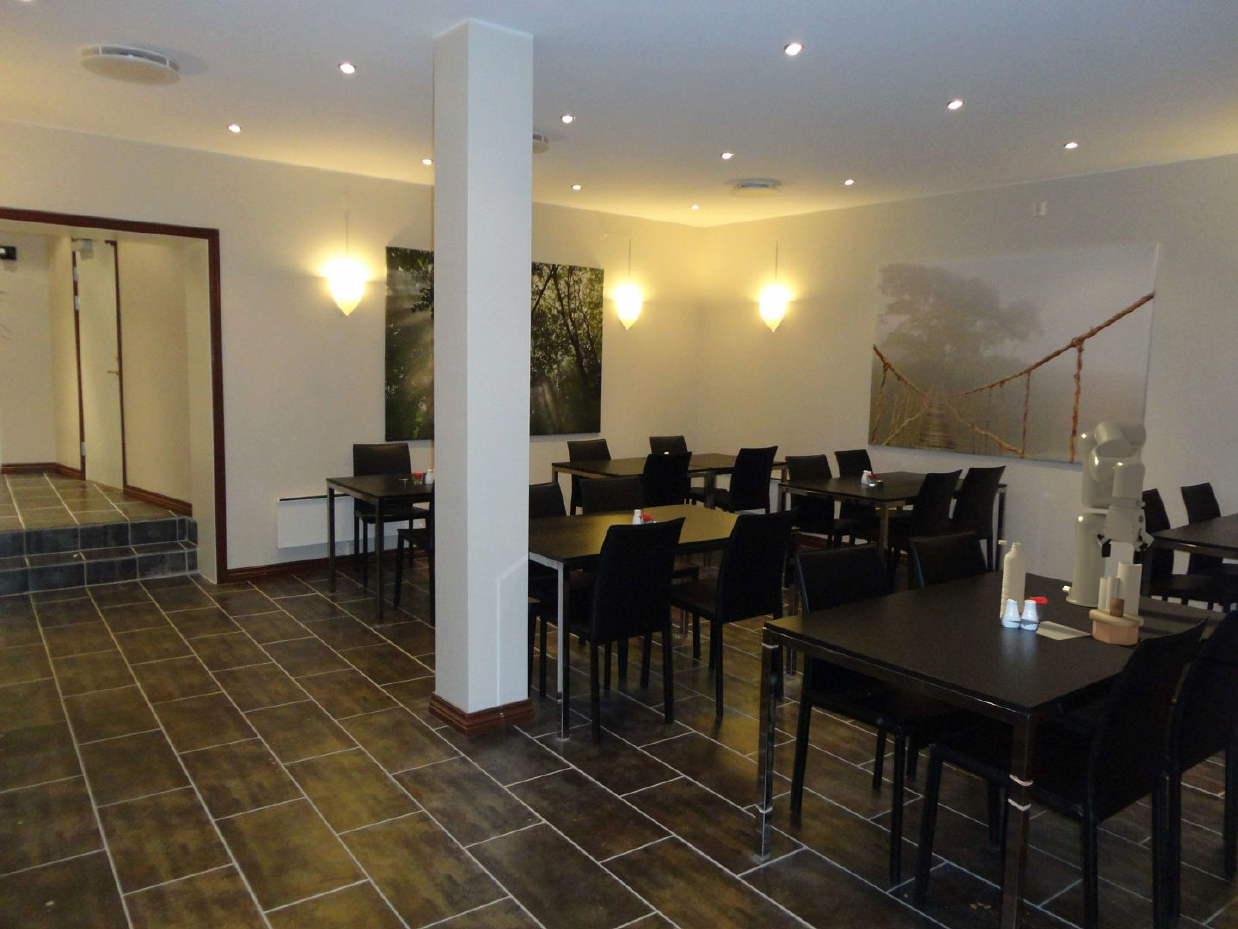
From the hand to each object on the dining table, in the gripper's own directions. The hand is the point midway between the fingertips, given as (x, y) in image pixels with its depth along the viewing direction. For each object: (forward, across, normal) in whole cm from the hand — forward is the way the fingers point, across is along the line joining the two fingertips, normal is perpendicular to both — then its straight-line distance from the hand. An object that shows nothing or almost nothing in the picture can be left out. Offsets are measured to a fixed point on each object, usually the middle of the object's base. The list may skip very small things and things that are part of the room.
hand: (1121, 560), depth 257 cm
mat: (+24, +13, +10) cm, 29 cm away
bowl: (+24, 0, 0) cm, 24 cm away
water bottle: (+24, +28, +12) cm, 39 cm away
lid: (+18, 0, 0) cm, 18 cm away
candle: (+24, +11, -17) cm, 32 cm away
